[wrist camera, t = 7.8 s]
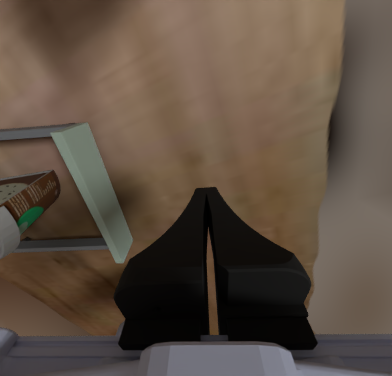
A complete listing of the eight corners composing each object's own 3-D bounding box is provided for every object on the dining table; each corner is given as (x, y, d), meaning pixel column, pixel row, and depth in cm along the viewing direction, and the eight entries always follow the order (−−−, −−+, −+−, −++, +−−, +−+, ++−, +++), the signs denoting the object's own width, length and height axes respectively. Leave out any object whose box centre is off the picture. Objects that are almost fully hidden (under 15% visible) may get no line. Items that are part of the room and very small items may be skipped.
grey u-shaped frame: (134, 236, 28) (123, 263, 24) (23, 240, 29) (-6, 267, 25) (91, 120, 19) (61, 132, 15) (-70, 133, 20) (-140, 147, 16)
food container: (14, 215, 27) (-73, 278, 18) (-18, 181, 24) (-142, 238, 15) (87, 205, 25) (30, 268, 17) (63, 167, 22) (-22, 221, 14)
